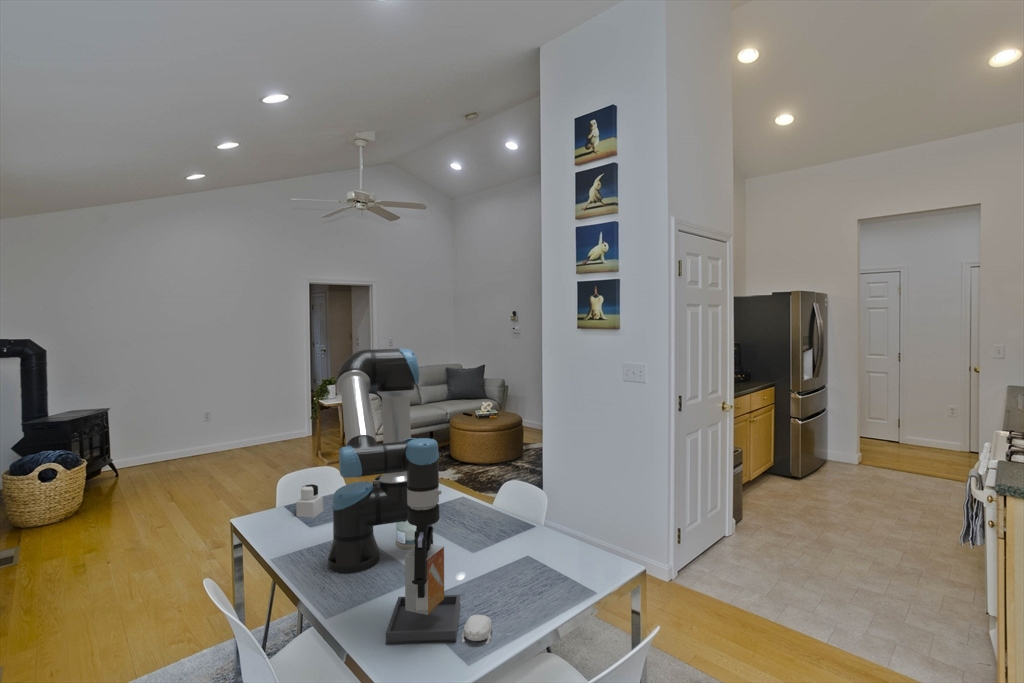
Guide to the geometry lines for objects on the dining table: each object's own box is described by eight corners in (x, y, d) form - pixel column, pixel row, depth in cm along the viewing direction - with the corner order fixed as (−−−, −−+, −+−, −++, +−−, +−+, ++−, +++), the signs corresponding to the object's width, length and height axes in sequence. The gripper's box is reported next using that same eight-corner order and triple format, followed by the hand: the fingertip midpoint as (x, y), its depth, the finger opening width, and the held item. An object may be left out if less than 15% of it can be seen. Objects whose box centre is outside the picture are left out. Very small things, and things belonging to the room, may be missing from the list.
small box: (428, 616, 115) (427, 559, 115) (404, 610, 118) (403, 555, 117) (445, 598, 123) (444, 545, 123) (423, 593, 125) (422, 542, 125)
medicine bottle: (306, 513, 195) (305, 482, 195) (323, 514, 194) (323, 483, 194) (296, 520, 188) (295, 488, 188) (313, 520, 187) (313, 489, 187)
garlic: (488, 648, 111) (488, 631, 111) (458, 645, 112) (458, 629, 112) (494, 627, 119) (494, 611, 119) (467, 625, 120) (466, 609, 120)
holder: (385, 644, 112) (385, 633, 112) (398, 606, 128) (398, 596, 128) (455, 641, 113) (455, 630, 113) (460, 604, 128) (459, 594, 128)
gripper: (433, 521, 109) (435, 623, 109) (443, 489, 131) (445, 574, 131) (398, 522, 109) (400, 625, 109) (414, 490, 131) (416, 575, 131)
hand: (425, 597), depth 120 cm, fingers closed on small box, 10 cm apart
